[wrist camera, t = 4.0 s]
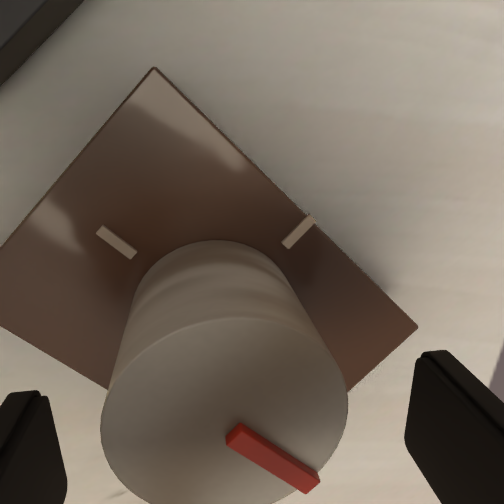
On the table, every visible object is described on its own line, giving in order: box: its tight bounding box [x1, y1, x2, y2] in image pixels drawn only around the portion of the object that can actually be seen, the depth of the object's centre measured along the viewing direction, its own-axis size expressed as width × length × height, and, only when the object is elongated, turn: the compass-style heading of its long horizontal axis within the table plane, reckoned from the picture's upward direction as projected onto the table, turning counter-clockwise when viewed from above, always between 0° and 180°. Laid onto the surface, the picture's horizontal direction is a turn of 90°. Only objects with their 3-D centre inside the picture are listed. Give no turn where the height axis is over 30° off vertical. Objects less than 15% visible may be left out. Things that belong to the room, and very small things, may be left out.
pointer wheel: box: [100, 240, 348, 504], centre depth 12 cm, size 6×6×6 cm
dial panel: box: [0, 67, 418, 392], centre depth 16 cm, size 14×10×3 cm
